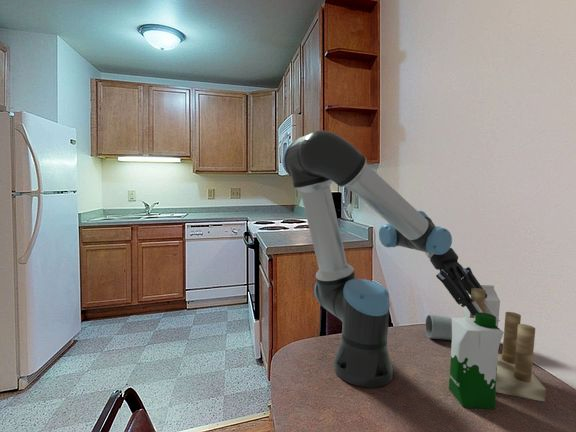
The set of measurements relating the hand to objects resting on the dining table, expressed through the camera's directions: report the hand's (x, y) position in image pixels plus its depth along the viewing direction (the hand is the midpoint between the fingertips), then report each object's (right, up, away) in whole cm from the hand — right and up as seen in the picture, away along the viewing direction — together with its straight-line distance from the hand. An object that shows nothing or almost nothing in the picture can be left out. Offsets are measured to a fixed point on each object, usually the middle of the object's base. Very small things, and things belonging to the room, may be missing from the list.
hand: (490, 324), depth 86 cm
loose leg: (-2, -4, +4) cm, 6 cm away
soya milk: (-12, -14, -11) cm, 22 cm away
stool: (0, -13, -2) cm, 13 cm away
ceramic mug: (-4, -12, +22) cm, 25 cm away
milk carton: (+8, -12, +19) cm, 24 cm away
